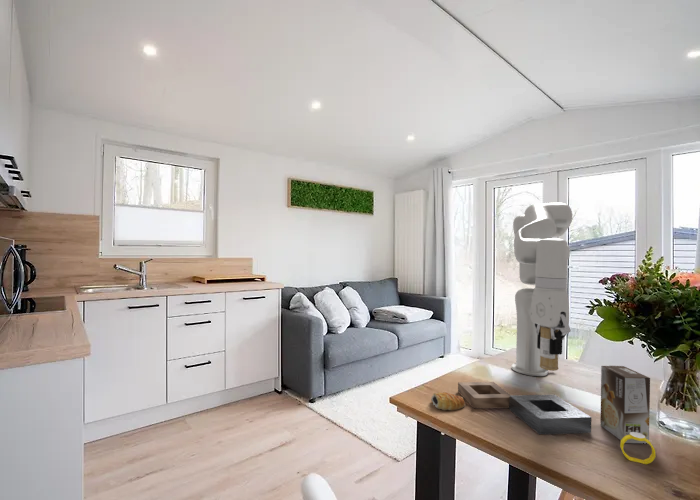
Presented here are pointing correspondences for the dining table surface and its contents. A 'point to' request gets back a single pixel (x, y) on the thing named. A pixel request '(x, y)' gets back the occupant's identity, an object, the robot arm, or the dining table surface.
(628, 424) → the coffee box
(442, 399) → the pastry
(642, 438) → the watch
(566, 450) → the dining table surface
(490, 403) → the holder ring
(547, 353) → the sprinkles bottle
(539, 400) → the block
